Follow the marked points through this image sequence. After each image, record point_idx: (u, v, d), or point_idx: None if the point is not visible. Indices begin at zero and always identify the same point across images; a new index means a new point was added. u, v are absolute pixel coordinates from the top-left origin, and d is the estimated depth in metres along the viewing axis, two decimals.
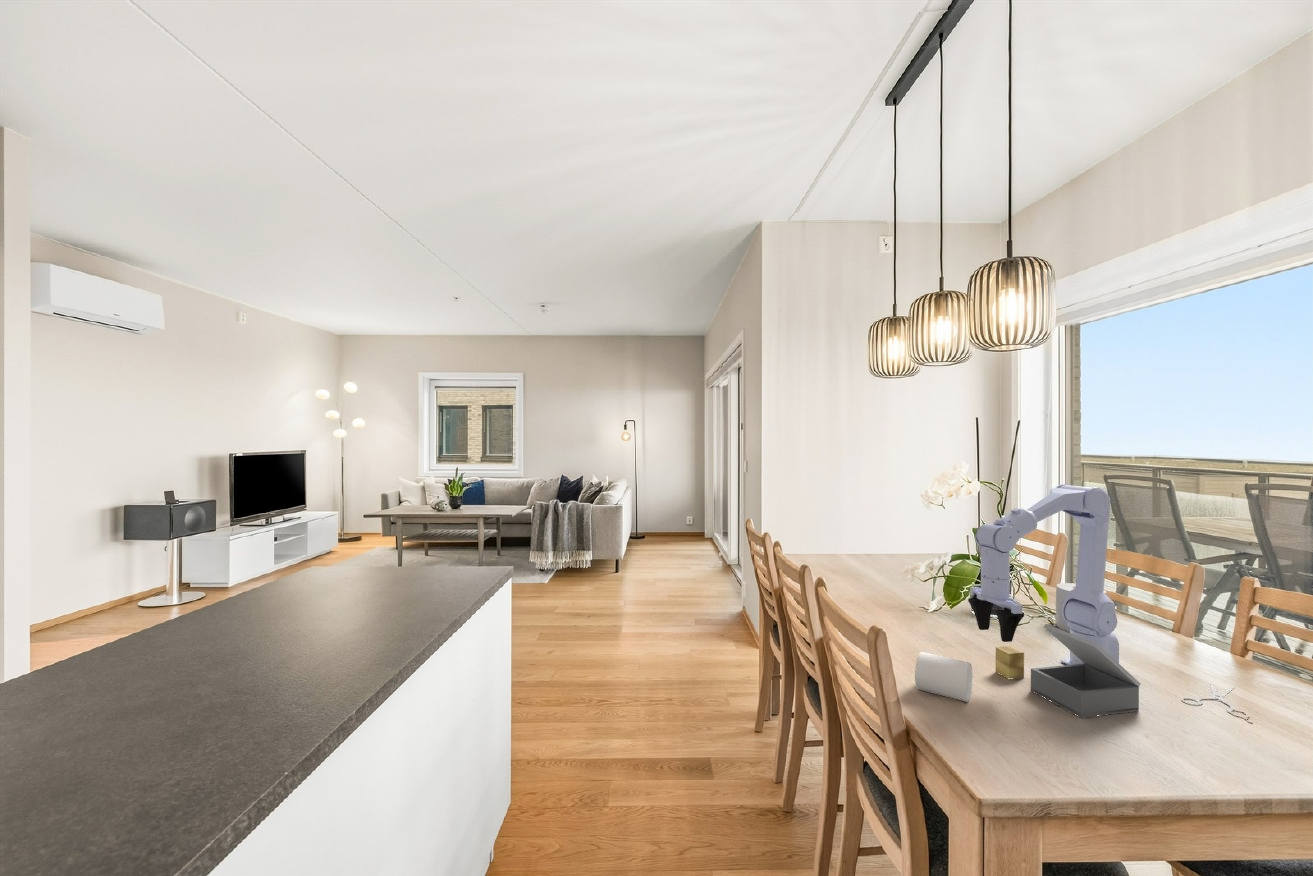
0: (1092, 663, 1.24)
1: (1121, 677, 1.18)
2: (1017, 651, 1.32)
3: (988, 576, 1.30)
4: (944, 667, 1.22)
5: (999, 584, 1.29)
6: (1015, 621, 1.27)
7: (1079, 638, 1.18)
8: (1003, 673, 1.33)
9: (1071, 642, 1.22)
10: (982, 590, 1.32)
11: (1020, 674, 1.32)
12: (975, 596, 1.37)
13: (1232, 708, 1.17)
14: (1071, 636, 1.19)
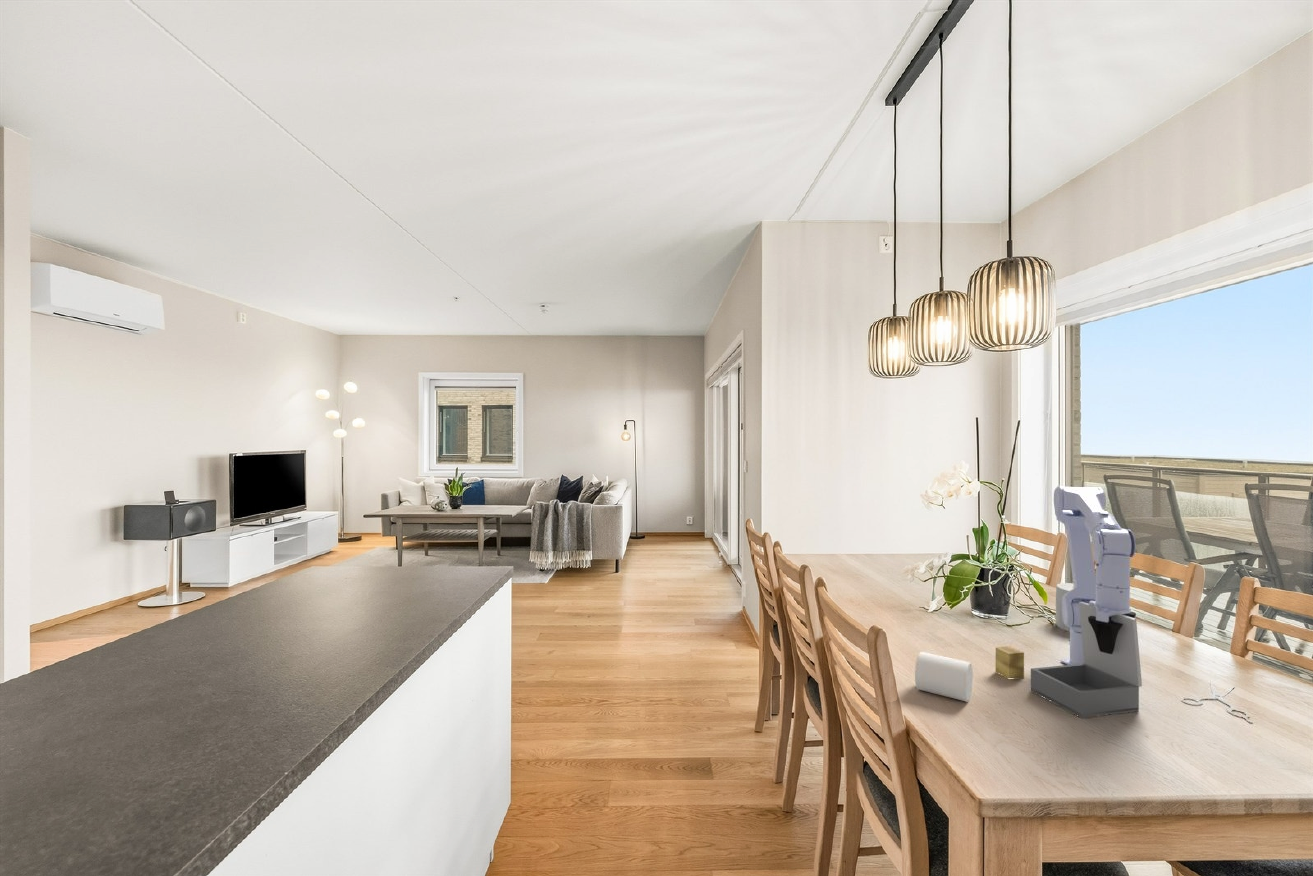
0: (1098, 658, 1.24)
1: (1125, 674, 1.19)
2: (1017, 651, 1.32)
3: (1122, 586, 1.20)
4: (944, 667, 1.22)
5: (1103, 591, 1.22)
6: (1111, 633, 1.18)
7: None
8: (1003, 673, 1.33)
9: None
10: None
11: (1020, 674, 1.32)
12: None
13: (1232, 708, 1.17)
14: None
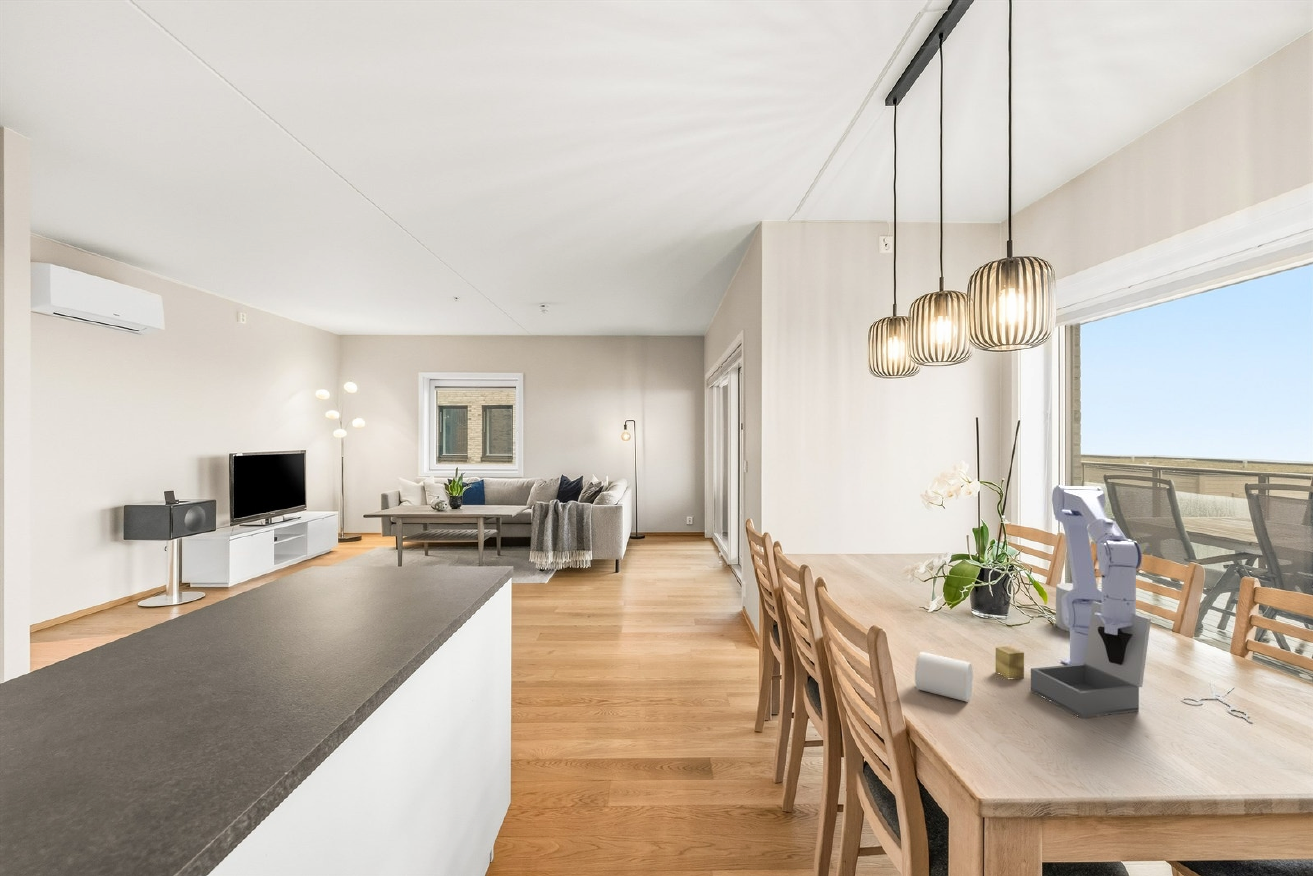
0: (1101, 658, 1.24)
1: (1126, 674, 1.19)
2: (1017, 651, 1.32)
3: (1129, 598, 1.19)
4: (944, 667, 1.22)
5: (1109, 603, 1.21)
6: (1121, 643, 1.19)
7: None
8: (1003, 673, 1.33)
9: None
10: None
11: (1020, 674, 1.32)
12: None
13: (1232, 708, 1.17)
14: None
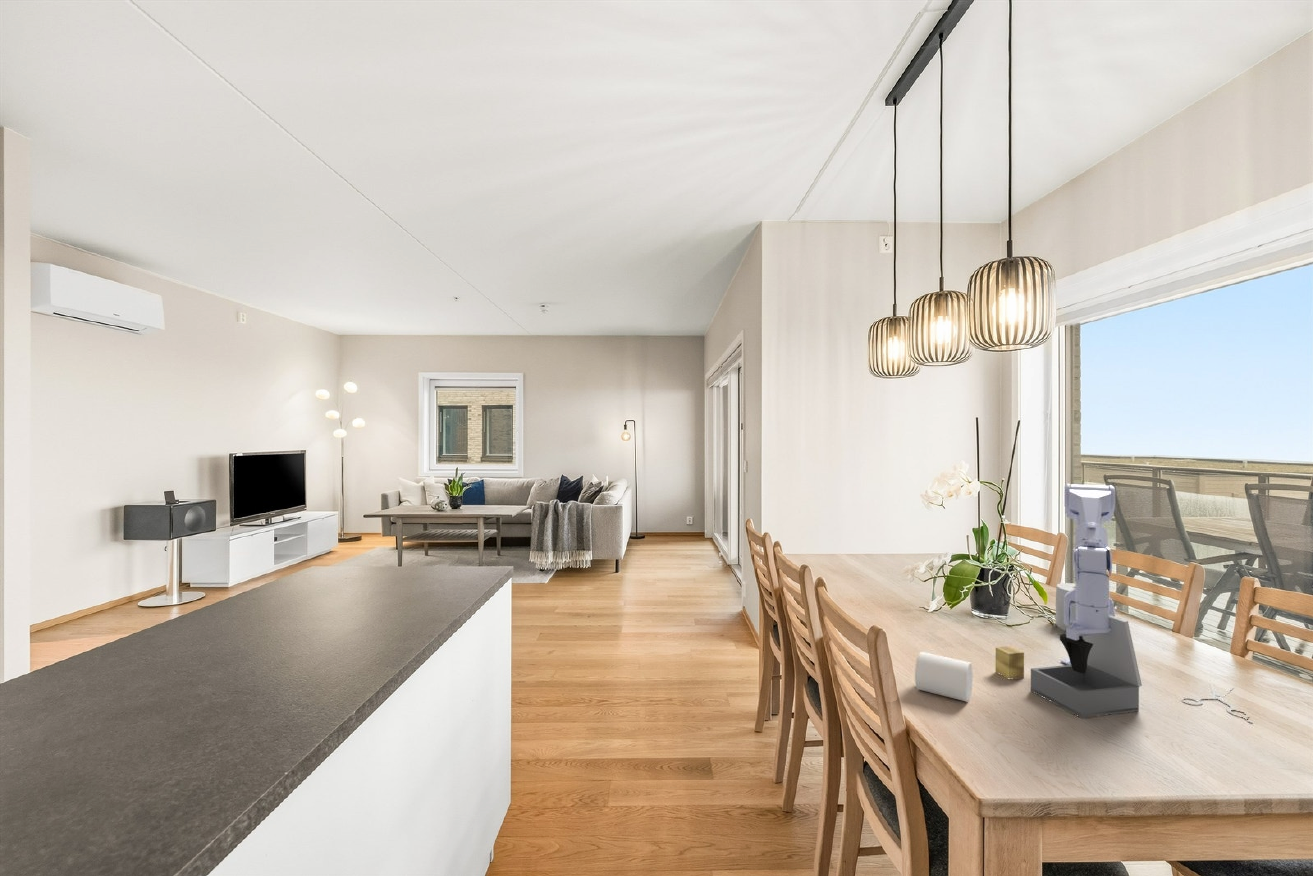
0: (1097, 659, 1.24)
1: (1124, 675, 1.19)
2: (1017, 651, 1.32)
3: (1098, 605, 1.18)
4: (944, 667, 1.22)
5: (1079, 609, 1.20)
6: None
7: None
8: (1003, 673, 1.33)
9: None
10: None
11: (1020, 674, 1.32)
12: None
13: (1232, 708, 1.17)
14: None
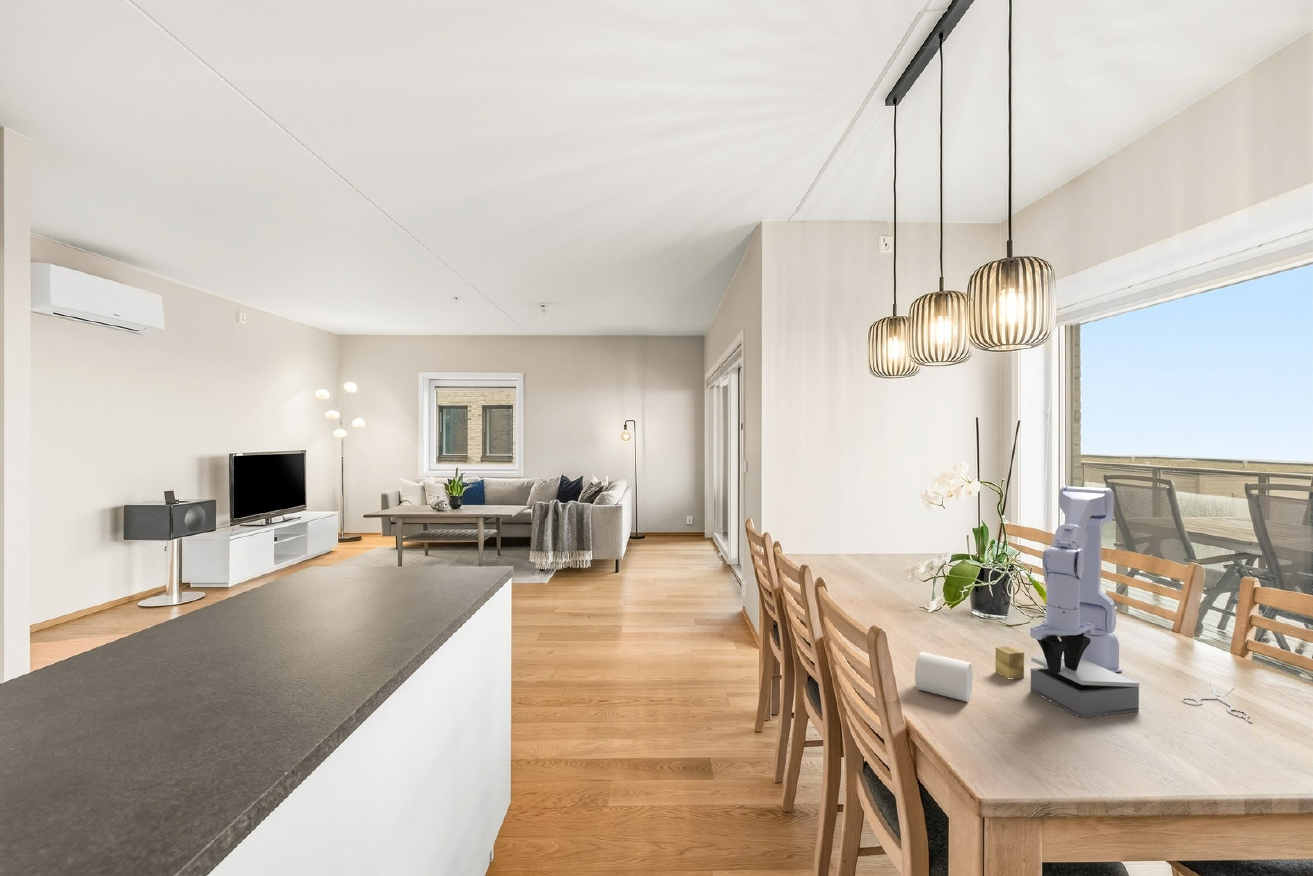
0: None
1: None
2: (1017, 651, 1.32)
3: (1065, 607, 1.17)
4: (944, 667, 1.22)
5: (1048, 610, 1.20)
6: None
7: (1065, 674, 1.17)
8: (1003, 673, 1.33)
9: None
10: None
11: (1020, 674, 1.32)
12: None
13: (1232, 708, 1.17)
14: None
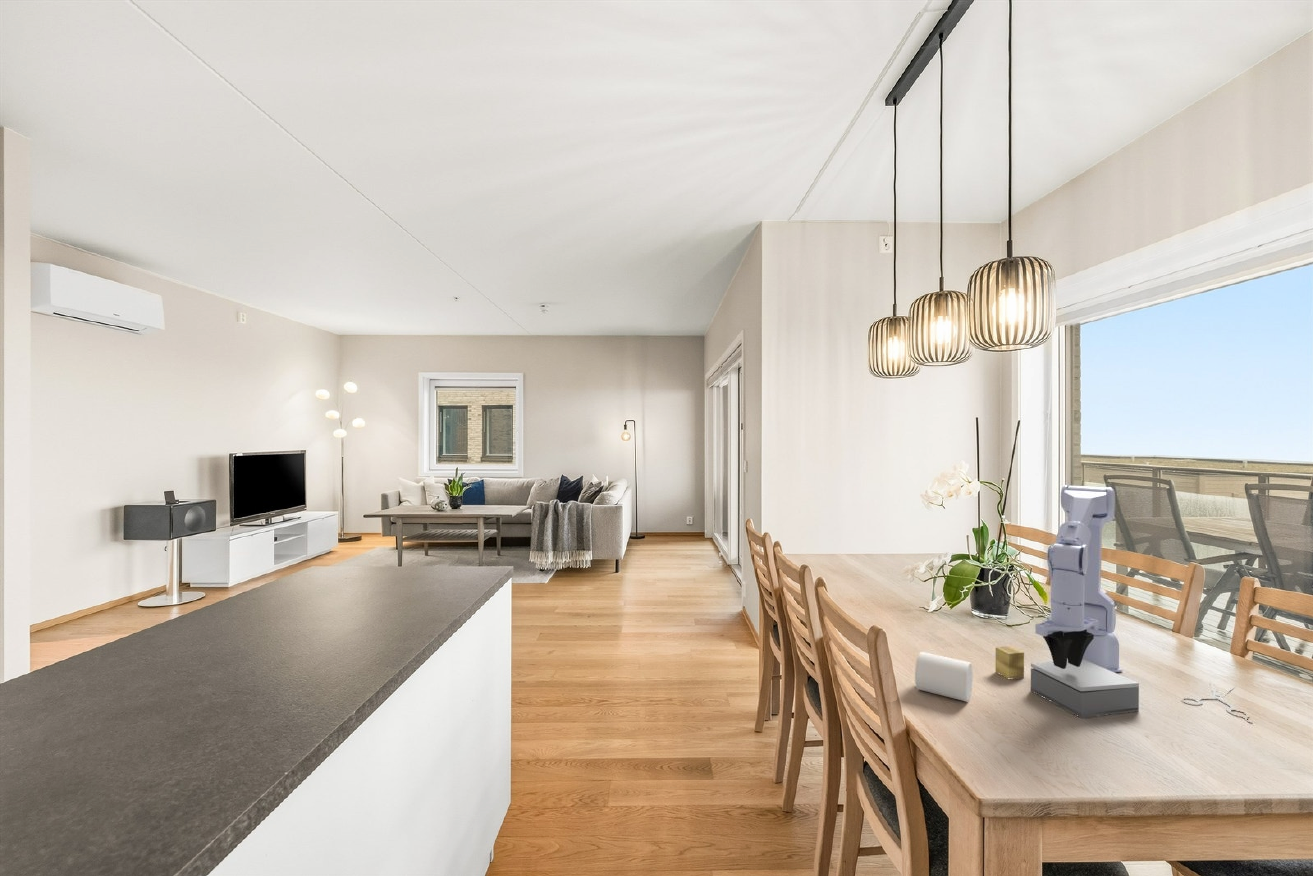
0: None
1: None
2: (1017, 651, 1.32)
3: (1070, 603, 1.17)
4: (944, 667, 1.22)
5: (1053, 606, 1.20)
6: None
7: (1064, 681, 1.17)
8: (1003, 673, 1.33)
9: None
10: None
11: (1020, 674, 1.32)
12: None
13: (1232, 708, 1.17)
14: (1057, 678, 1.19)
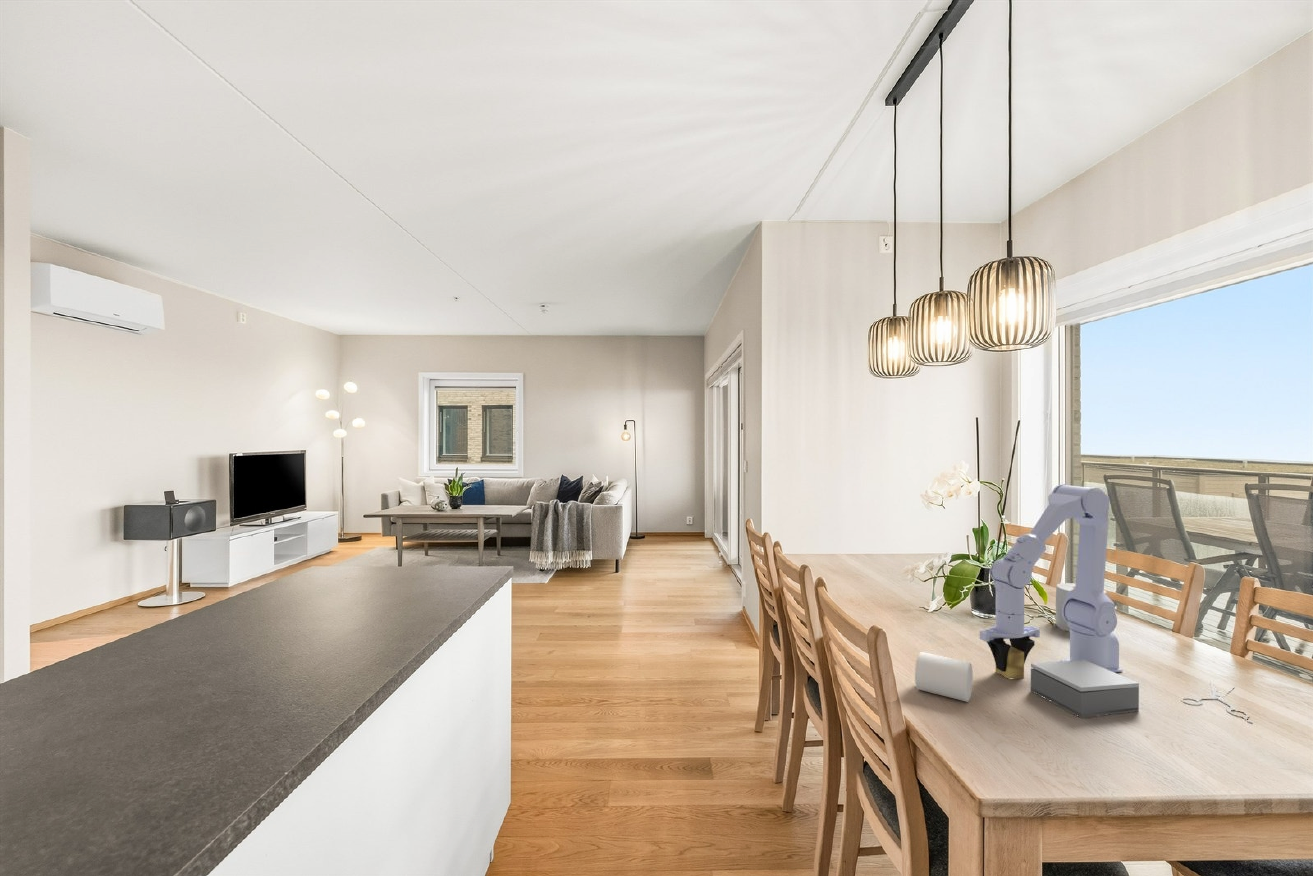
0: None
1: None
2: (1017, 651, 1.32)
3: (1003, 611, 1.32)
4: (944, 667, 1.22)
5: (997, 615, 1.34)
6: None
7: (1064, 681, 1.17)
8: (1003, 673, 1.33)
9: None
10: None
11: (1020, 674, 1.32)
12: None
13: (1232, 708, 1.17)
14: (1057, 678, 1.19)
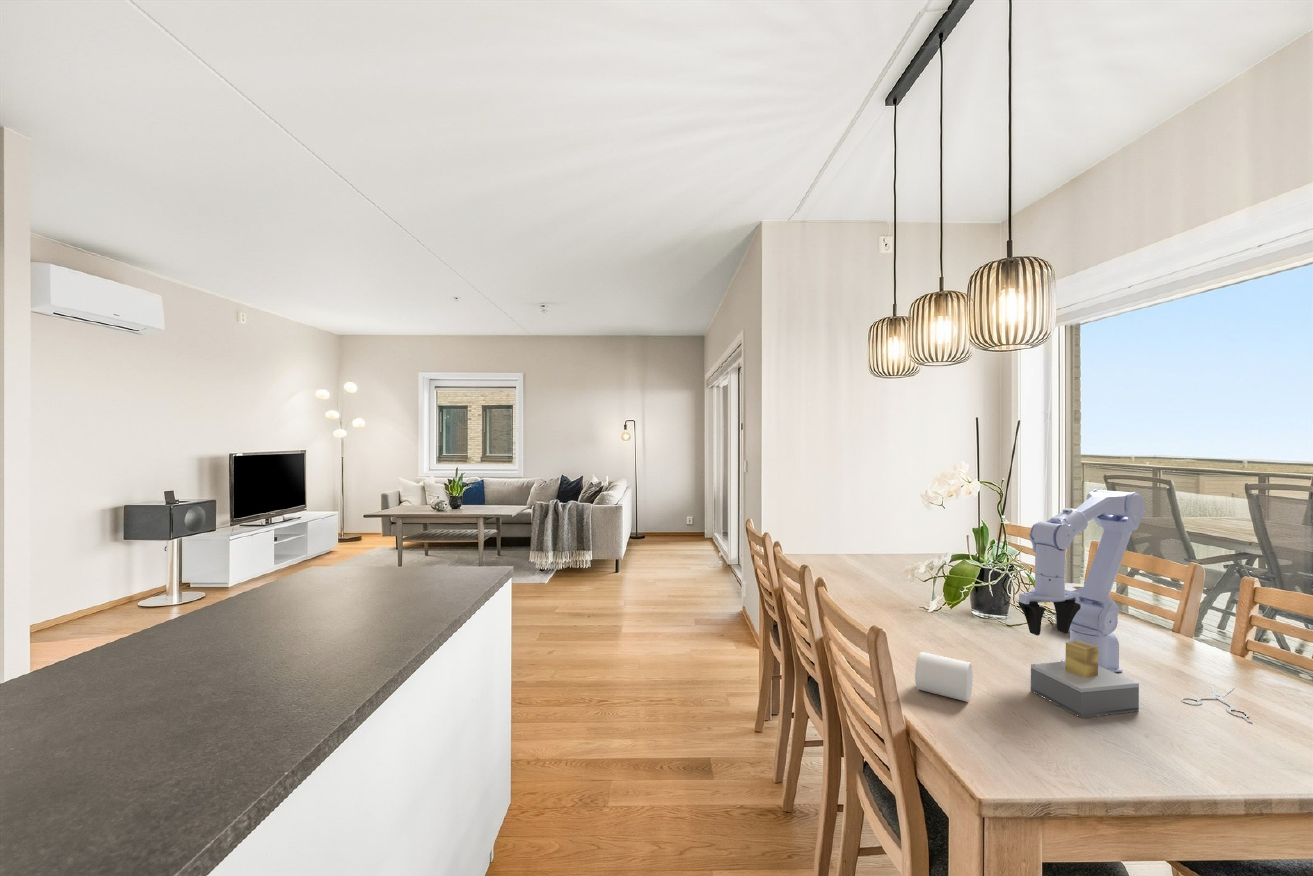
0: None
1: None
2: (1091, 646, 1.20)
3: (1046, 574, 1.30)
4: (944, 667, 1.21)
5: (1036, 578, 1.32)
6: None
7: (1064, 682, 1.17)
8: (1077, 671, 1.20)
9: None
10: None
11: (1095, 671, 1.19)
12: None
13: (1232, 708, 1.17)
14: (1057, 679, 1.19)
